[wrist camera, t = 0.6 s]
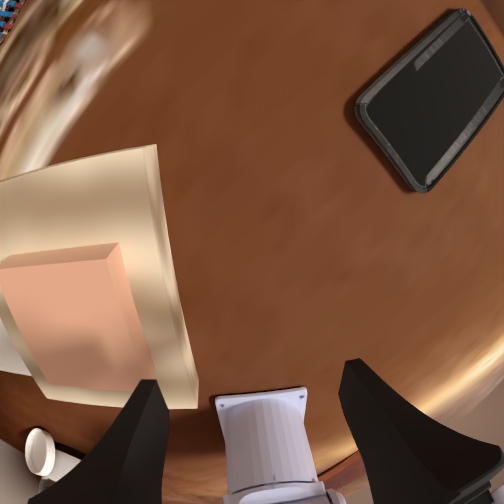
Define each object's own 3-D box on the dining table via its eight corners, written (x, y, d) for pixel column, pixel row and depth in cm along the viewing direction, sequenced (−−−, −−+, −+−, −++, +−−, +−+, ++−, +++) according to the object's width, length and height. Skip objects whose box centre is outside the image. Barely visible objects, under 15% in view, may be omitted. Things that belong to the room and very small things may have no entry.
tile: (156, 369, 18) (151, 391, 16) (59, 365, 17) (49, 384, 16) (119, 242, 14) (105, 258, 12) (11, 254, 14) (-7, 269, 12)
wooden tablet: (314, 496, 41) (316, 503, 39) (272, 495, 38) (274, 502, 36) (429, 421, 33) (434, 429, 31) (397, 416, 30) (402, 425, 28)
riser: (198, 380, 23) (197, 408, 20) (57, 375, 22) (46, 398, 19) (156, 143, 15) (142, 147, 12) (-14, 185, 14) (-40, 196, 12)
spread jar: (91, 474, 32) (81, 532, 21) (28, 442, 28) (10, 498, 17) (110, 455, 28) (98, 529, 18) (33, 415, 25) (6, 487, 14)
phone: (512, 84, 14) (422, 200, 17) (503, 83, 15) (413, 196, 18) (463, 2, 11) (351, 106, 15) (455, 5, 12) (343, 107, 16)
